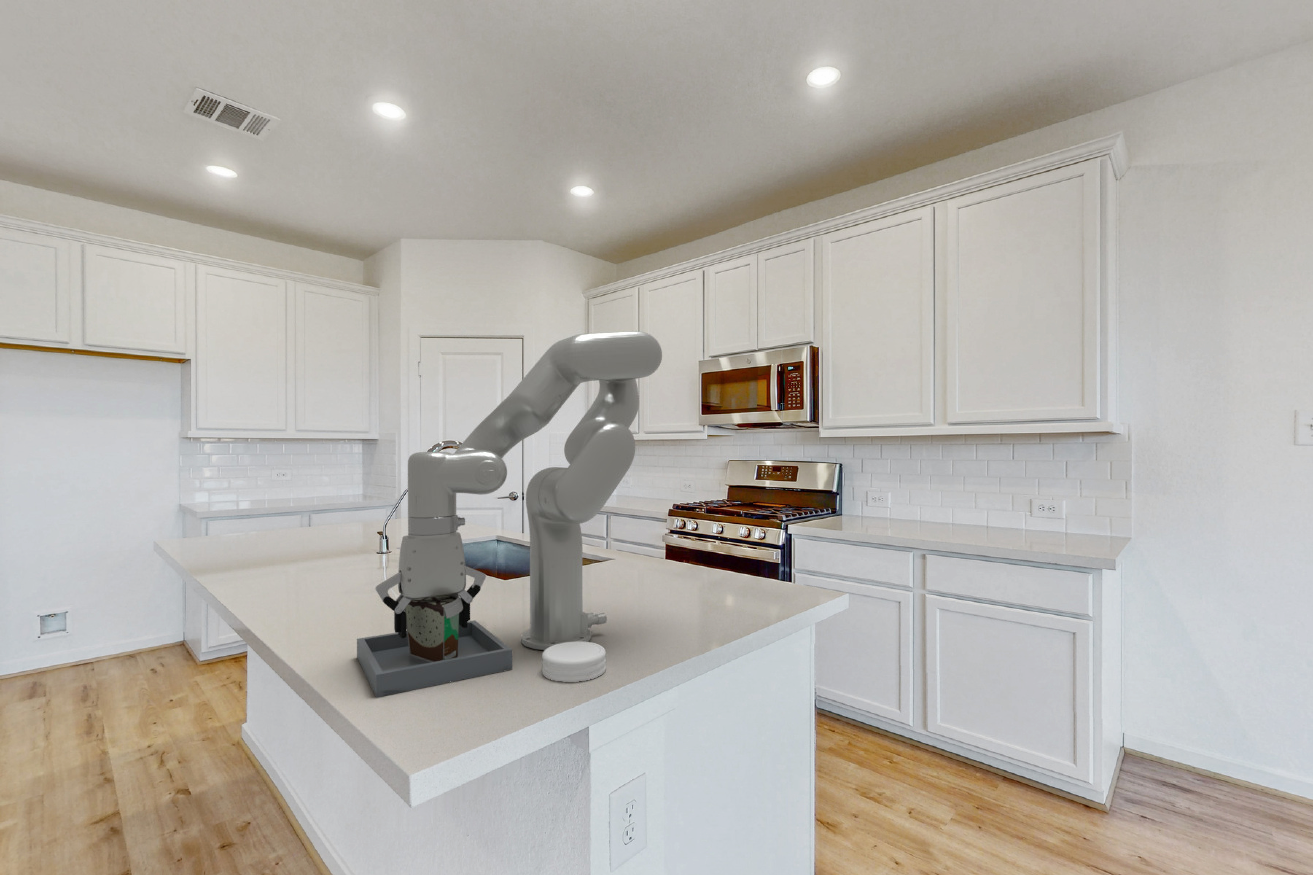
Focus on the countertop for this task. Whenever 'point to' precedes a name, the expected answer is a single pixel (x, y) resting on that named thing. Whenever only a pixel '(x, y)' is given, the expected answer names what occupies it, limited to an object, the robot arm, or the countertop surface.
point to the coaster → (573, 661)
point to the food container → (433, 627)
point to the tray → (402, 672)
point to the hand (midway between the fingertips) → (433, 630)
